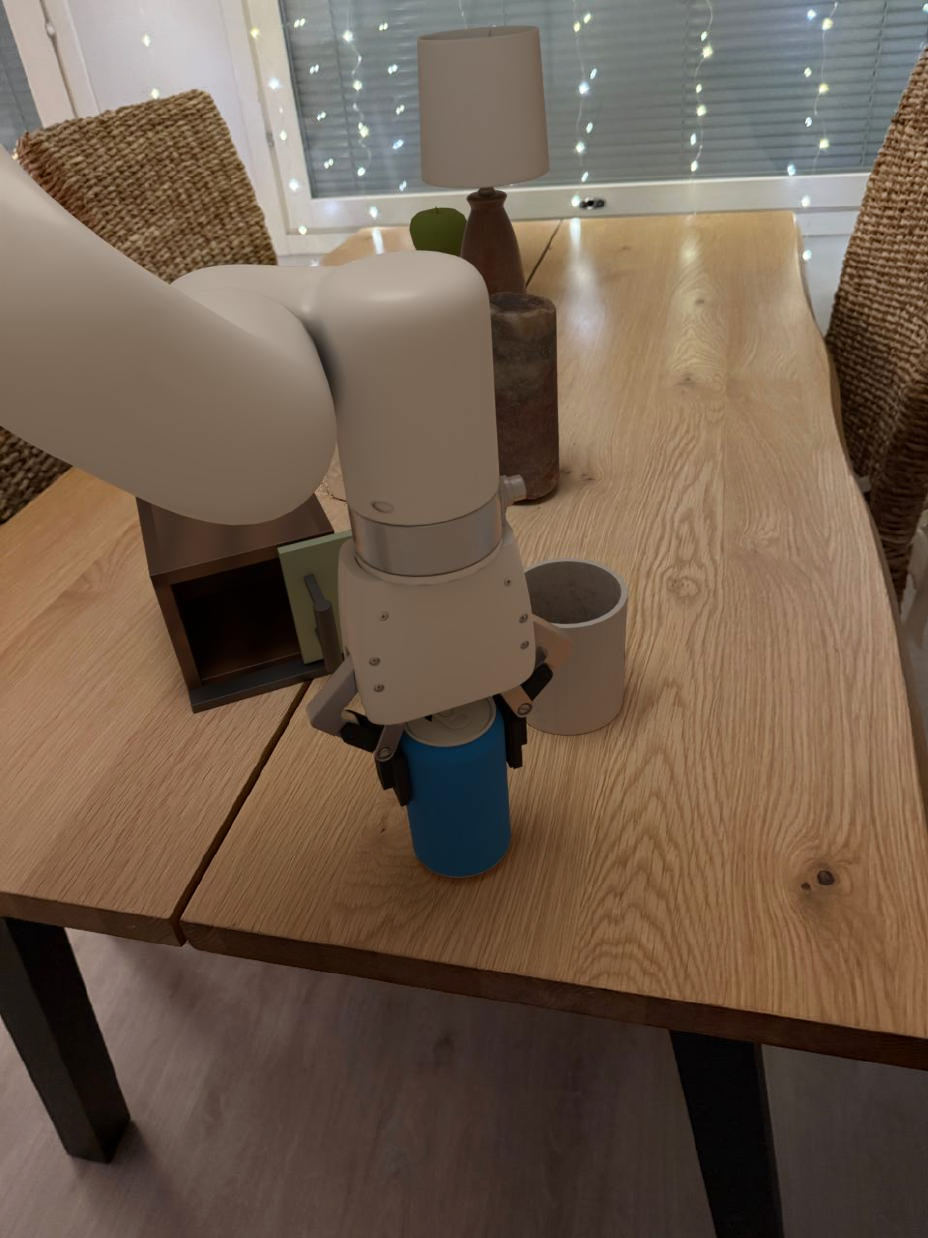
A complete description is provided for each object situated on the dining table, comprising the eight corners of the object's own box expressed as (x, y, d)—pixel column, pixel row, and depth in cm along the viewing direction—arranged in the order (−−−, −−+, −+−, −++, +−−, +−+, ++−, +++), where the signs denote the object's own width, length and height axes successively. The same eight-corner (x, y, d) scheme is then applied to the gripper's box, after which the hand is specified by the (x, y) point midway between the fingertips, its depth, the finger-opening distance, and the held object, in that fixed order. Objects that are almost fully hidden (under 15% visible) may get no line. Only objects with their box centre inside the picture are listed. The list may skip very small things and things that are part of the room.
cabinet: (193, 713, 73) (151, 590, 66) (171, 606, 85) (134, 492, 78) (452, 638, 78) (440, 516, 71) (397, 547, 91) (381, 436, 83)
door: (319, 703, 71) (294, 589, 65) (302, 658, 76) (276, 547, 69) (477, 656, 74) (468, 543, 68) (451, 615, 79) (441, 506, 73)
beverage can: (465, 792, 64) (451, 659, 57) (532, 843, 60) (526, 708, 53) (393, 845, 61) (369, 711, 54) (459, 903, 57) (442, 767, 50)
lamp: (559, 288, 151) (556, 20, 129) (541, 328, 136) (534, 35, 114) (449, 288, 155) (428, 29, 133) (420, 327, 141) (391, 44, 118)
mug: (636, 726, 68) (641, 619, 62) (521, 742, 68) (516, 635, 62) (598, 627, 78) (599, 526, 72) (497, 640, 78) (491, 540, 72)
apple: (457, 274, 161) (453, 214, 155) (403, 272, 164) (396, 213, 158) (479, 256, 169) (475, 198, 163) (426, 254, 172) (421, 197, 166)
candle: (508, 467, 102) (499, 284, 90) (570, 477, 100) (569, 289, 88) (479, 499, 97) (465, 310, 85) (543, 511, 94) (539, 316, 82)
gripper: (552, 450, 51) (556, 694, 61) (240, 526, 47) (303, 773, 57) (617, 512, 45) (609, 769, 56) (269, 605, 41) (332, 863, 52)
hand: (454, 769), depth 56 cm, fingers closed on beverage can, 6 cm apart
